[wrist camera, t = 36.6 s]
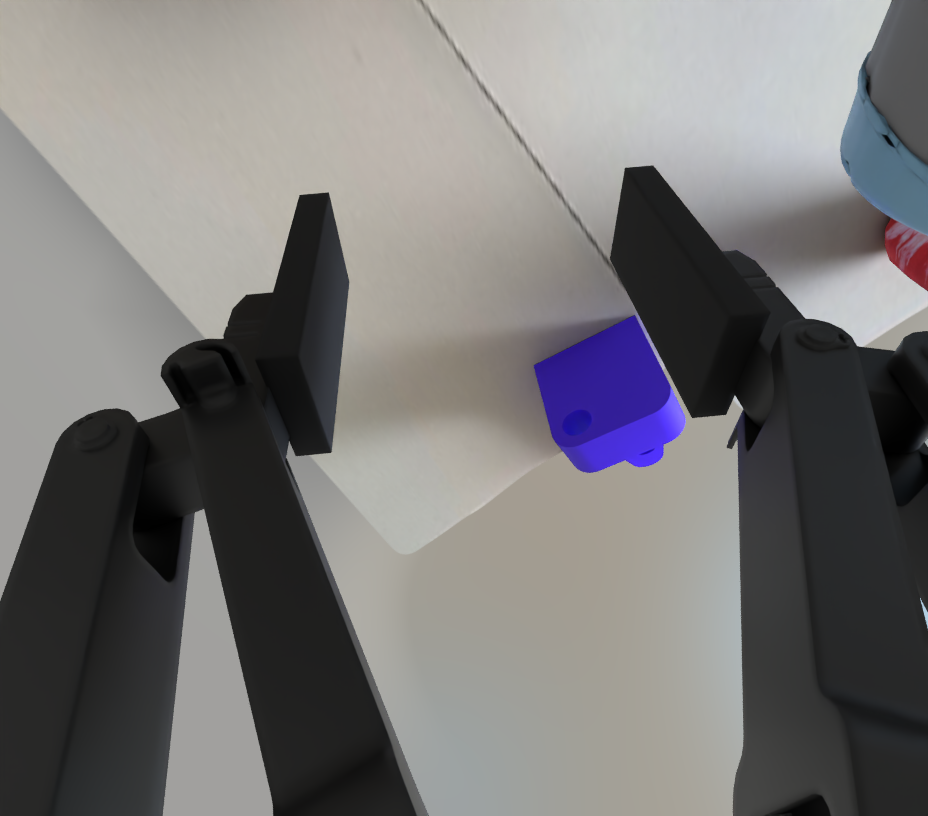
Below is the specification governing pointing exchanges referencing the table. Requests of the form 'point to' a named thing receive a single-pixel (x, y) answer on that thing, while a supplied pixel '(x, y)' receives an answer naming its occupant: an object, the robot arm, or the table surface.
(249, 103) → the table surface
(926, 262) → the water bottle
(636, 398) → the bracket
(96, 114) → the table surface
